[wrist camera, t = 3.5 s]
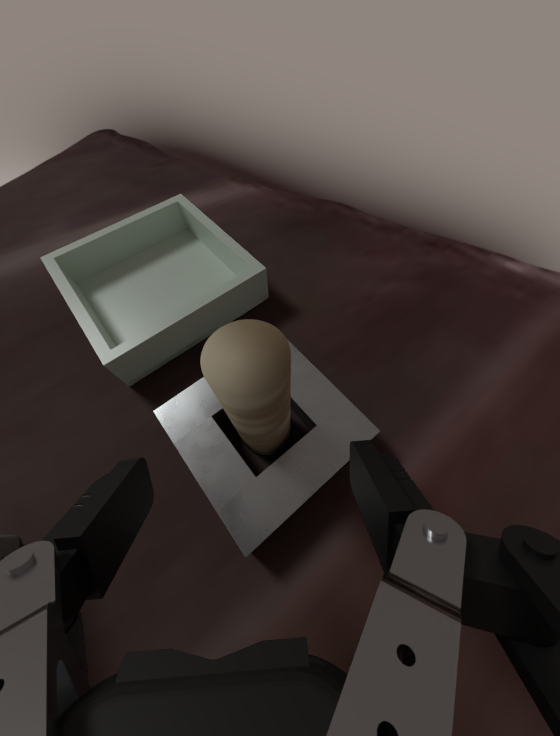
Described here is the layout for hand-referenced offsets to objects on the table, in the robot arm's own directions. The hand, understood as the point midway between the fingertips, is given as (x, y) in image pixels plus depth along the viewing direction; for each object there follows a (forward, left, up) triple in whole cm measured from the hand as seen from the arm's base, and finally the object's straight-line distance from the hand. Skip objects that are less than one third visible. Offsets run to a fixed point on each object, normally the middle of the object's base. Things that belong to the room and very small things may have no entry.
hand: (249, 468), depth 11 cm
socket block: (+3, +4, -11) cm, 12 cm away
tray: (+4, +23, -11) cm, 26 cm away
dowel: (+3, +4, -11) cm, 12 cm away
